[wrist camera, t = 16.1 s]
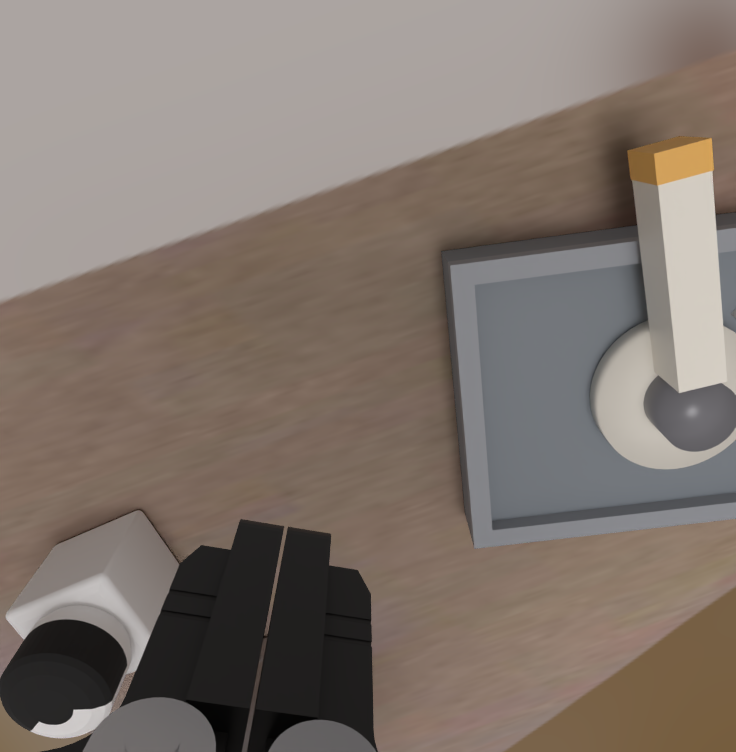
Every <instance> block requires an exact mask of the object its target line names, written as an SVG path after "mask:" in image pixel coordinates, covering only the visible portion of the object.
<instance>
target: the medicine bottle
mask: <svg viewBox="0 0 736 752" xmlns="http://www.w3.org/2000/svg"><path fill="white" fill-rule="evenodd" d="M178 567H179V563H178V562H177V560H176V559H175V557H174V556H173V555H172V553H171V552H170V550H169V549H168V547H167V546H166V545H165V543H164V542H163V540H162V539H161V537H160V536H159V534H158V533H157V532H156V530H155V529H154V527H153V526H152V524H151V523H150V522H149V520H148V519H147V517H146V516H145V514H144V513H143V512H142V511H140V510H137V511H134V512H132V513H130V514H127V515H125V516H122V517H120V518H118V519H115V520H113V521H111V522H108V523H106V524H104V525H101V526H99V527H97V528H94V529H92V530H90V531H87V532H85V533H83V534H80V535H78V536H76V537H73V538H71V539H69V540H66V541H64V542H62V543H59V544H57V545H56V546H54V547H53V549H52V550H51V552H50V553H49V554H48V556H47V557H46V559H45V560H44V561H43V563H42V564H41V566H40V567H39V568H38V570H37V571H36V572H35V574H34V575H33V577H32V578H31V579H30V581H29V582H28V584H27V585H26V586H25V588H24V589H23V591H22V592H21V593H20V595H19V596H18V598H17V599H16V600H15V602H14V603H13V605H12V606H11V607H10V609H9V610H8V611H7V613H6V619H7V620H8V622H9V623H10V624H11V625H12V626H13V628H14V629H15V630H16V631H17V632H18V633H19V635H20V636H21V637H22V638H23V639H24V641H23V643H22V644H21V646H20V647H19V649H18V651H17V652H16V654H15V655H14V657H13V658H12V660H11V661H10V663H9V664H8V666H7V668H6V669H5V671H4V672H3V674H2V676H1V679H0V697H1V701H2V704H3V706H4V708H5V710H6V712H7V713H8V715H9V716H10V717H11V718H12V719H13V720H14V721H15V722H16V723H18V724H19V725H20V726H22V727H23V728H25V729H27V730H29V731H31V732H33V733H36V734H38V735H42V736H46V737H52V738H72V737H77V736H80V735H83V734H86V733H88V732H90V731H92V730H94V729H96V728H97V726H98V725H99V724H100V723H101V722H102V721H103V720H104V719H105V718H106V717H107V716H108V715H109V713H110V711H111V709H112V707H113V704H114V702H115V699H116V697H117V695H118V692H119V690H120V688H121V685H122V683H123V681H124V678H125V676H126V675H127V674H129V673H132V672H134V671H136V670H137V667H138V665H139V662H140V660H141V657H142V655H143V653H144V650H145V648H146V645H147V643H148V640H149V638H150V635H151V633H152V631H153V628H154V626H155V623H156V621H157V618H158V616H159V615H160V612H161V608H162V606H163V604H164V601H165V599H166V596H167V594H168V593H169V589H170V586H171V584H172V581H173V579H174V577H175V574H176V572H177V569H178Z"/></svg>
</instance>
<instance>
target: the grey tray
mask: <svg viewBox="0 0 736 752" xmlns="http://www.w3.org/2000/svg"><path fill="white" fill-rule="evenodd" d="M715 218H716V232H717V246H718V259H719V273H720V287H721V301H722V315H723V326H725V327H727V328H728V329H730V330H732V331H734V332H735V333H736V212H733V213H725V214H718V215H715ZM441 252H442V263H443V275H444V286H445V297H446V308H447V319H448V330H449V341H450V352H451V363H452V374H453V386H454V397H455V408H456V419H457V430H458V441H459V452H460V463H461V474H462V485H463V497H464V508H465V515H466V519H467V522H468V526H469V530H470V534H471V538H472V541H473V545H474V549H476V548H485V547H493V546H502V545H511V544H520V543H528V542H537V541H546V540H554V539H563V538H572V537H580V536H589V535H598V534H607V533H615V532H624V531H633V530H641V529H650V528H659V527H667V526H676V525H685V524H694V523H702V522H711V521H720V520H728V519H736V440H735V441H734V442H733V443H732V444H730V445H729V446H728V447H727V448H726V449H724V450H723V451H721V452H720V453H718V454H717V455H715V456H713V457H711V458H710V459H708V460H705V461H703V462H701V463H698V464H695V465H692V466H688V467H684V468H678V469H654V468H648V467H644V466H641V465H638V464H636V463H633V462H631V461H629V460H628V459H626V458H625V457H623V456H622V455H620V454H619V453H618V452H617V451H616V450H615V449H614V448H613V447H612V446H611V444H610V443H609V442H608V441H607V439H606V438H605V437H604V435H603V434H602V433H601V431H600V430H599V428H598V427H597V425H596V423H595V420H594V418H593V415H592V411H591V406H590V388H591V383H592V379H593V376H594V373H595V370H596V368H597V366H598V364H599V362H600V360H601V359H602V357H603V356H604V354H605V353H606V351H607V350H608V349H609V348H610V347H611V345H612V344H613V343H614V342H615V341H616V340H617V339H618V338H620V337H621V336H622V335H623V334H625V333H626V332H627V331H629V330H630V329H632V328H633V327H635V326H637V325H638V324H640V323H643V322H645V321H647V320H648V313H647V304H646V295H645V287H644V278H643V269H642V261H641V252H640V244H639V235H638V226H637V225H635V226H628V227H620V228H613V229H605V230H598V231H590V232H583V233H575V234H567V235H560V236H552V237H545V238H537V239H530V240H522V241H515V242H507V243H500V244H492V245H485V246H477V247H470V248H462V249H455V250H447V251H441Z"/></svg>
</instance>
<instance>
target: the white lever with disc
mask: <svg viewBox="0 0 736 752" xmlns="http://www.w3.org/2000/svg"><path fill="white" fill-rule="evenodd" d="M627 152H628V161H629V169H630V178H631V180H632V183H633V192H634V200H635V209H636V218H637V226H638V235H639V244H640V252H641V261H642V269H643V278H644V287H645V295H646V304H647V313H648V320H647V321H645V322H643V323H640V324H638V325H637V326H635V327H633V328H632V329H630V330H629V331H627V332H626V333H625V334H623V335H622V336H621V337H620V338H618V339H617V340H616V341H615V342H614V343H613V344H612V345H611V347H610V348H609V349H608V350H607V351H606V353H605V354H604V356H603V357H602V359H601V360H600V362H599V364H598V366H597V368H596V370H595V373H594V376H593V379H592V383H591V388H590V406H591V411H592V415H593V418H594V420H595V423H596V425H597V427H598V428H599V430H600V431H601V433H602V434H603V435H604V437H605V438H606V439H607V441H608V442H609V443H610V444H611V446H612V447H613V448H614V449H615V450H616V451H617V452H618V453H619V454H620V455H622V456H623V457H625V458H626V459H628V460H629V461H631V462H633V463H636V464H638V465H641V466H644V467H648V468H654V469H678V468H684V467H688V466H692V465H695V464H698V463H701V462H703V461H705V460H708V459H710V458H711V457H713V456H715V455H717V454H718V453H720V452H721V451H723V450H724V449H726V448H727V447H728V446H729V445H730V444H732V443H733V442H734V441H735V440H736V333H735V332H734V331H732V330H730V329H728V328H727V327H725V326H723V315H722V301H721V287H720V273H719V259H718V246H717V232H716V218H715V204H714V190H713V176H712V171H713V170H714V166H713V151H712V138H703V137H684V136H678V137H675V138H671V139H667V140H664V141H660V142H657V143H653V144H649V145H646V146H642V147H638V148H635V149H631V150H628V151H627Z"/></svg>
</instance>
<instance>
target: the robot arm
mask: <svg viewBox="0 0 736 752" xmlns="http://www.w3.org/2000/svg"><path fill="white" fill-rule="evenodd" d="M283 529H284V526H279V525H273V524H267V523H261V522H255V521H249V520H242V519H241V520H240V522H239V525H238V529H237V532H236V535H235V539H234V542H233V545H232V548H231V550H228V549H222V548H215V547H209V546H203V545H201V546H200V547H199V548H198V549H196V550H195V551H194V552H193V553H192V554H191V555H189V556H188V557H187V558H186V559H185V560H184V561H183V562H181V563H180V564H179V567H178V569H177V572H176V574H175V577H174V579H173V581H172V584H171V586H170V589H169V593H168V594H167V596H166V599H165V601H164V604H163V606H162V608H161V612H160V615H159V616H158V618H157V621H156V623H155V626H154V628H153V631H152V633H151V635H150V638H149V640H148V643H147V645H146V648H145V650H144V653H143V655H142V657H141V660H140V662H139V665H138V667H137V670H136V672H135V675H134V677H133V680H132V682H131V684H130V687H129V689H128V692H127V694H126V697H125V699H124V701H123V703H122V704H121V706H120V707H119V709H117V710H115V711H114V712H112V713H111V714H110V715H109V716H107V717H106V718H105V719H104V720H103V721H102V722H101V723H100V724H99V725H98V726H97V728H96V729H95V731H94V732H93V733H92V734H90V735H89V736H87V737H86V738H83V739H81V740H79V741H77V742H75V743H73V744H70V745H67V746H64V747H61V748H57V749H52V750H48V751H42V752H378V751H377V748H376V744H375V740H374V731H373V683H372V647H371V642H372V634H371V594H370V592H369V590H368V588H367V586H366V584H365V583H364V581H363V579H362V577H361V575H360V574H359V572H358V570H354V569H347V568H341V567H335V566H329V558H330V544H331V534H329V533H323V532H317V531H310V530H304V529H298V528H292V527H288V530H287V535H286V540H285V545H284V551H283V556H282V561H281V567H280V572H279V577H278V583H277V588H276V593H275V599H274V604H273V610H272V615H271V620H270V626H269V631H268V637H267V638H264V639H263V637H264V632H265V627H266V621H267V616H268V611H269V605H270V600H271V594H272V589H273V584H274V578H275V573H276V567H277V562H278V557H279V551H280V546H281V540H282V535H283Z"/></svg>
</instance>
